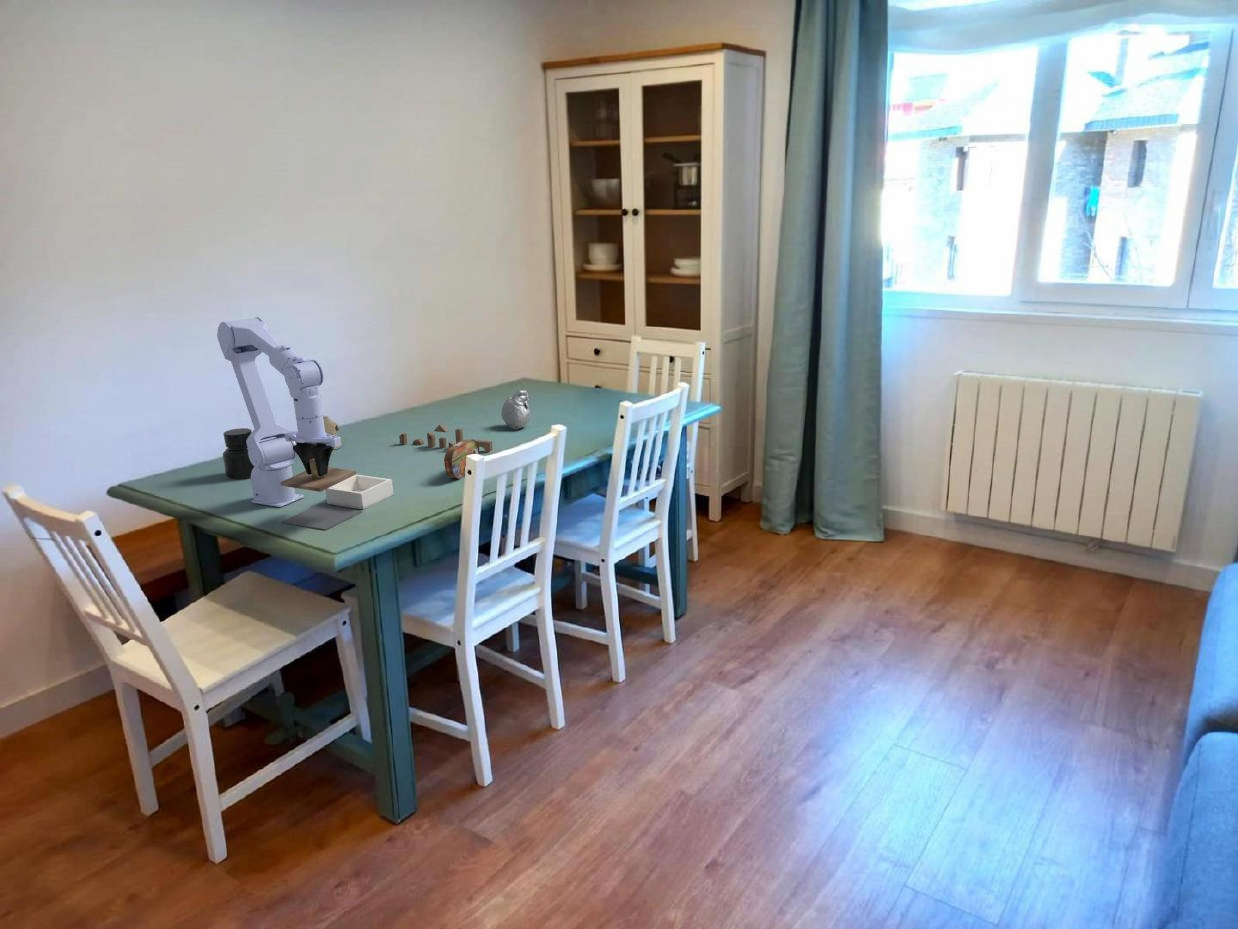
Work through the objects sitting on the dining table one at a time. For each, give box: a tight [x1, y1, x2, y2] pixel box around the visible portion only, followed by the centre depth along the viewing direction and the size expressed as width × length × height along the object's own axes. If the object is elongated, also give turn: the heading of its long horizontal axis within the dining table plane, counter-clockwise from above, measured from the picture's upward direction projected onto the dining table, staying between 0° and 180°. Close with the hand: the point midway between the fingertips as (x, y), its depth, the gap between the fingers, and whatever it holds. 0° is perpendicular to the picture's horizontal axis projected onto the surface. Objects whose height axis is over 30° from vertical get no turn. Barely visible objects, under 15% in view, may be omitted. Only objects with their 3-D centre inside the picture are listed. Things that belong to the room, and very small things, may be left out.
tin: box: [443, 438, 481, 480], centre depth 226 cm, size 15×3×8 cm, turn 161°
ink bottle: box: [222, 428, 255, 480], centre depth 229 cm, size 10×9×12 cm
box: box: [324, 473, 394, 511], centre depth 209 cm, size 11×11×4 cm
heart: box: [500, 390, 531, 431], centre depth 269 cm, size 10×10×12 cm
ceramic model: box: [295, 415, 343, 450], centre depth 254 cm, size 14×11×10 cm
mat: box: [281, 503, 363, 531], centre depth 199 cm, size 13×12×1 cm
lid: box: [280, 459, 357, 493], centre depth 196 cm, size 12×12×5 cm
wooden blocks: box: [399, 423, 494, 453], centre depth 250 cm, size 30×3×7 cm, turn 70°
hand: (317, 474), depth 196 cm, fingers closed on lid, 3 cm apart
